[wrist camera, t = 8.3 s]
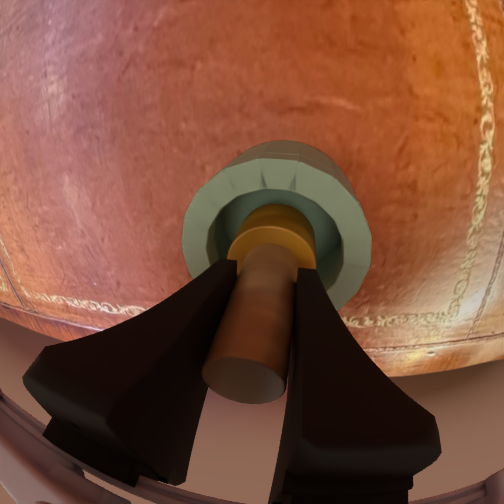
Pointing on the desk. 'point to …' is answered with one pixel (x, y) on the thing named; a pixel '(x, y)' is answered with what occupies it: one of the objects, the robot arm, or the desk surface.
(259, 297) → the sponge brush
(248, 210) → the ceramic jar
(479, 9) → the desk surface
